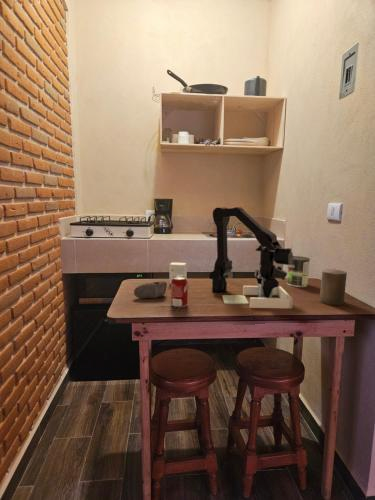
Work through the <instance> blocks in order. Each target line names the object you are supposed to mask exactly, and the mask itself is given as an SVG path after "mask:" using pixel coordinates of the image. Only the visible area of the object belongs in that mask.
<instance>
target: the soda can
mask: <svg viewBox="0 0 375 500" xmlns="http://www.w3.org/2000/svg"><path fill="white" fill-rule="evenodd" d="M188 283H189V282H188V280H186V277H185V276H174V277H173V280H172V281H171V284H170V295H171V296H170V304H171V306H172V307H174V308H176V307H177V309H178V308H179V309H180V308H181V309H183V308H184V307H186V306H188V298H189V297H188V291H189V289H188V288H189V287H188V286H189V285H188Z"/></svg>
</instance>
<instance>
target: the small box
mask: <svg viewBox="0 0 375 500" xmlns="http://www.w3.org/2000/svg"><path fill="white" fill-rule="evenodd" d="M168 265H169V270H168V272H169V275H168V277H169V285H171V281H172V280H173V277H174V276H185V277H186V280H187V275H188V274H187V269H188V268H187V262H176V261H175V262H171V263H169V264H168ZM187 281H188V280H187Z"/></svg>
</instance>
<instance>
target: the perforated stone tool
mask: <svg viewBox="0 0 375 500" xmlns="http://www.w3.org/2000/svg"><path fill="white" fill-rule="evenodd" d="M167 284H168V283H167V282H166V281H152V282H146V283H144V284H141V285H138V286H136V287H135V288H134V291H133V295H134V296H135V297H136V298H139V299H156V298H162V297H164V296H165V294H166V292H167V287H168V286H167Z"/></svg>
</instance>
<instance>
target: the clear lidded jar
mask: <svg viewBox="0 0 375 500" xmlns="http://www.w3.org/2000/svg"><path fill="white" fill-rule="evenodd" d="M310 260H311V258H309V257H307V256H306V257H305V256H299V255H293V261H292V264H291V265H287V276H286V277H287V278H286V284H287V285H288V286H291V287H294V288H295V287H296V288H306V287H308V283H309V282H308V281H309V270H310Z"/></svg>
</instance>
